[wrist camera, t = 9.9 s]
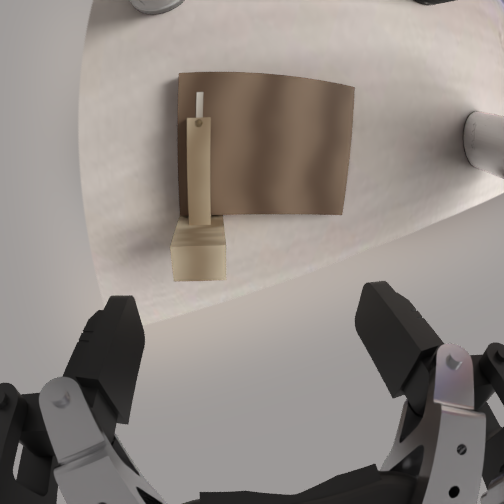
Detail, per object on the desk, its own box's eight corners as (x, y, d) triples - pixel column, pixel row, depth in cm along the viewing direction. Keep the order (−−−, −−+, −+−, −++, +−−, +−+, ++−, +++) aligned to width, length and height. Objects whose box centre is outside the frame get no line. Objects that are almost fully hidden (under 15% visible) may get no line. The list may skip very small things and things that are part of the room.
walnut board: (345, 88, 24) (355, 87, 22) (334, 209, 31) (342, 215, 29) (181, 76, 22) (178, 73, 20) (182, 209, 28) (180, 216, 26)
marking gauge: (223, 118, 24) (227, 115, 17) (222, 240, 30) (226, 279, 23) (178, 119, 24) (163, 118, 17) (182, 241, 29) (174, 281, 22)
